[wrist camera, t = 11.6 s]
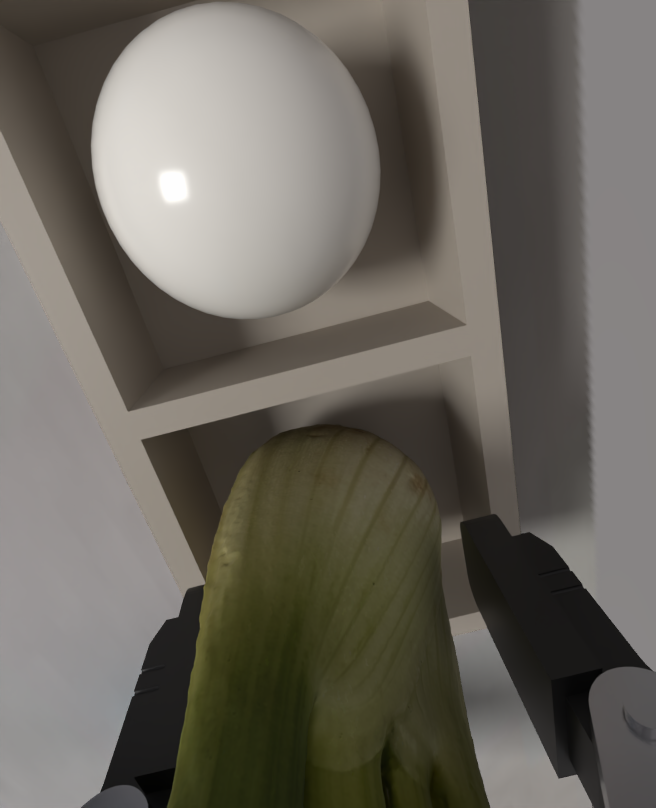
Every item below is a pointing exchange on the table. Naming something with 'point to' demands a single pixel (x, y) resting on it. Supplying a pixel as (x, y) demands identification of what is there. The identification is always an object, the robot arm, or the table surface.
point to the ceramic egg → (235, 160)
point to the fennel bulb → (326, 639)
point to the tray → (292, 332)
